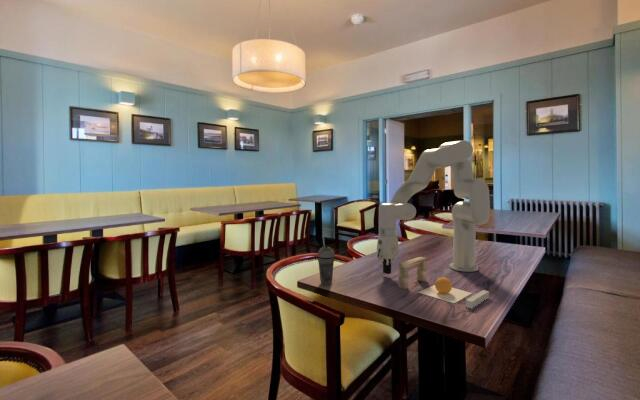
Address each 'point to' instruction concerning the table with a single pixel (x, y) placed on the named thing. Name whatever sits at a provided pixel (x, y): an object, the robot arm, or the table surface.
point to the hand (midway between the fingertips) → (387, 273)
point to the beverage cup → (326, 264)
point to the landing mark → (450, 297)
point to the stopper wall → (477, 299)
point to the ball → (443, 285)
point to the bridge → (405, 268)
